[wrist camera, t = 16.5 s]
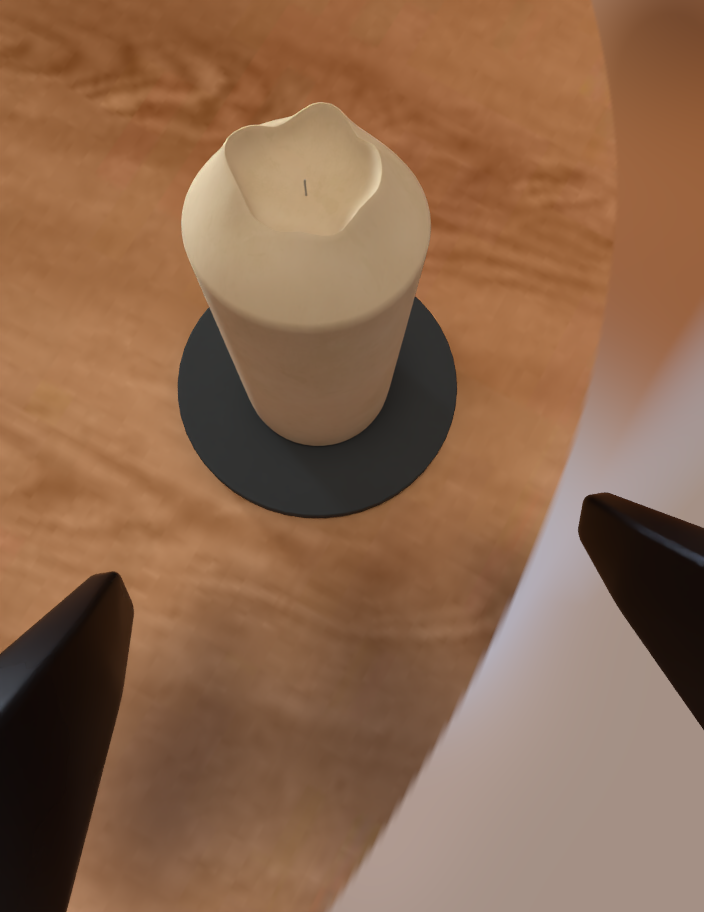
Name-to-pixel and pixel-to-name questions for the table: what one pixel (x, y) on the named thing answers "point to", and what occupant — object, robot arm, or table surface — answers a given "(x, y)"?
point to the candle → (309, 267)
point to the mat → (319, 467)
